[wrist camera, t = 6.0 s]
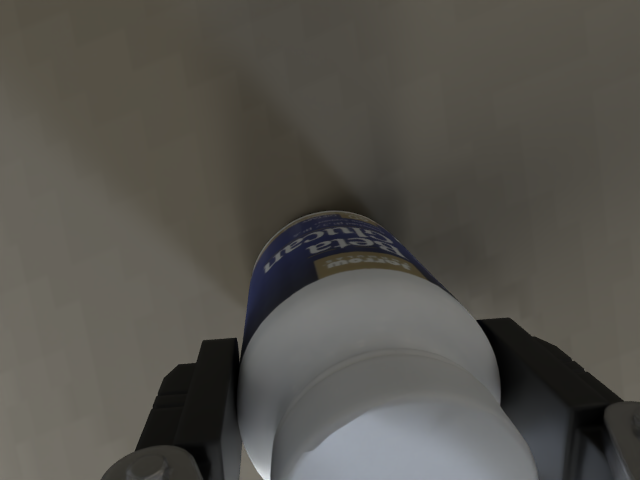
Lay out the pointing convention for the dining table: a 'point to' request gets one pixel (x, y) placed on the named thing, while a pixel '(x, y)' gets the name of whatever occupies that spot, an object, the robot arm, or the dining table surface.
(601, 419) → the robot arm
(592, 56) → the dining table surface
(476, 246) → the dining table surface
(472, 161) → the dining table surface
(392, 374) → the pill bottle
